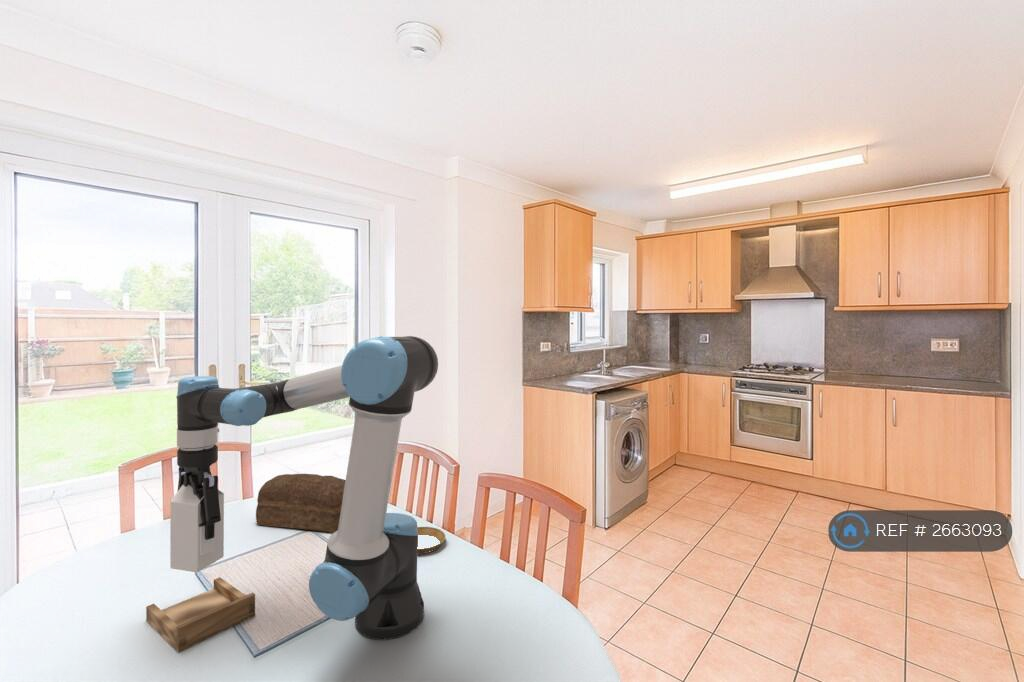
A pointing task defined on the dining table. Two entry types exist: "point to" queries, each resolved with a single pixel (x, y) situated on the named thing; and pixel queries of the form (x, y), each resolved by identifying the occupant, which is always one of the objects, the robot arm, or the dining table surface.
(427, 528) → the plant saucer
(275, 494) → the bread
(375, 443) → the robot arm
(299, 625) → the dining table surface
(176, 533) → the milk carton
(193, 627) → the wooden tray
